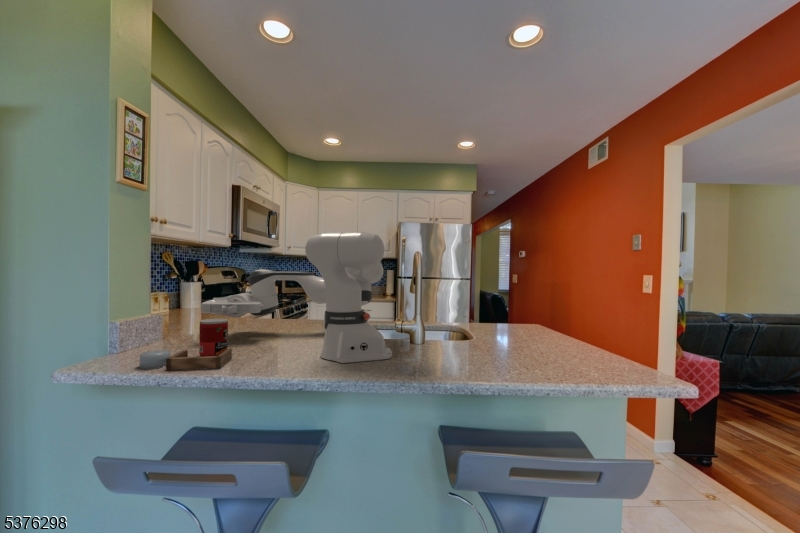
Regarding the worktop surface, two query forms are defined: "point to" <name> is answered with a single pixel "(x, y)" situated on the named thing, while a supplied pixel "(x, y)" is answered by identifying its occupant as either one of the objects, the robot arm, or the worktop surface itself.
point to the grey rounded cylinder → (154, 359)
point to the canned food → (213, 337)
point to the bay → (197, 361)
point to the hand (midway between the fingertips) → (225, 309)
